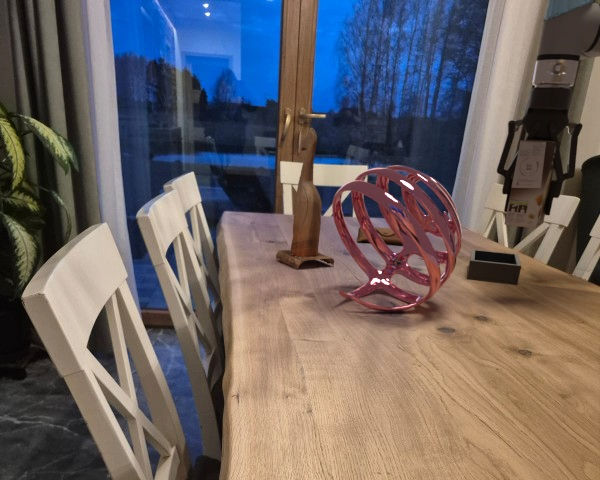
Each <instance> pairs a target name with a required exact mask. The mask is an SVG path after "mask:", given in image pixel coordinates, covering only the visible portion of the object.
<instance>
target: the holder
mask: <svg viewBox="0 0 600 480" xmlns="http://www.w3.org/2000/svg"><path fill="white" fill-rule="evenodd" d="M521 270H522V263H521V259H520V255H519V253H513V252H502V251H495V250H494V251H492V250H485V249H484V250H482V249H473V248H472V249H471V250H470V256H469V261H468V266H467V277H466V279H467V280H473V281H481V282H482V281H483V282H489V283H499V284H506V285H507V284H509V285H518V284H519V280H520V275H521Z"/></svg>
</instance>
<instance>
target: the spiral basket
mask: <svg viewBox="0 0 600 480" xmlns="http://www.w3.org/2000/svg"><path fill="white" fill-rule="evenodd" d="M400 172H405V173H408V174H406V175H404V174H402V173H400ZM371 175H375V176H377V177H376V180H375V183H371V182H368V181H366V179H367V177H368V176H371ZM389 181H392V182H394V183H395V184H396V185H398V186H399V187H401V196H402V200H403V202H404V204H405V205H403V203H402V202H400V201H399V200H398V199H397V198H396V197H395V196H393V195H392V194H391V193H389ZM420 181H421V182H422V183H424V184H425V185H426V186H428V188H429V189H431V190H432V192H433V193H434V194H435V195H436V196H437V197H438V198H439V200H440V201H441V203H442V204H443V205H444V207H445V209H446V210H447V211H443V213H442V211H441V209H440V208H439V207H438V206H437V204H436V203H435V201H433V199H432V198H431V197H430V196H429V195H428V194H427V193H426V191H424V190H423V189H422V188H421V187H420V186H419V185H418V184H417V183H418V182H420ZM344 192H351V193H350V194H351V203H352V208H353V212H354V215H355V218H356V219H357V220H356V221H357V222H358V225H359V226H360V227H361V229H362V230H363V232H364V234H365V236H366V237H367V239H368V240H369V242H368V243H370V245H371V246H372V248H373V249H374V250H375V252H376V253H377V254H378V255H379V256H380V257H381V258H382V259H383V260H384V262H385V266H384V268H382V269H377V268H376V267H375V266H374V265H373V264H372V263H371V262H370V261H369V259H368V258H367V257H366V255H364V253H363V251H362V250H361V249H360V247H359V246H358V245H357V243H356V241H355V239H354V238H353V236H352V234H351V232H350V230H349V228H348V226H347V225H348V224H347V223H346V220H345V217H344V213H343V207H342V196H343V194H344ZM364 196H367V197H368V198H370V199H372V200H373V201H375V202H376V203H377V204H378V207H379V210H380V212H381V214H382V216H383V218H384V220H385V222H386V224H387V225H388V228H391V229H392V231H393V232H394V233H395V235H396V236H397V237H398V238H399V239H400V241H401V242H402V243H403V245H402V249H401V250H400V251H399V252H394V251H393V250H392V249H391V248H390V246H388V244H386V243H385V242H384V241H383V240H382V238H381V237H380V235H379V234H378V232H377V231H376V229H375V228H374V227H375V225H374V224H373V221H372V220H371V217H370V216H369V214H368V211H367V207H366V204H365V200H364ZM418 203H419V204H420V205H421V207H422V208H423V209H424V210H425V212H426V213H427V214H425V212H424V211H423V210H422V209H421V208H420V205H419V204H418ZM331 204H332V205H331V206H332V207H331V209H332V210H331V211H332V218H333V222H334V225H335V228H336V231H337V233H338V235H339V237H340V240H341V242H342V244H343V245H344V247H345V248H346V251H347V252H348V253H349V255H350V256H351V257H352V259H353V260H354V262H355V263H356V264H357V265H358V267H359V268H360V269H361V270H362V272H363V273H365V275H366V276H367V278H368V280H367V282H366V283H364V284H363V285H362V286H360V287H358V288H356V289H354V290H352V291H348V292H345V291H344V290H343V289H340V290H338V293H339V295H340V296H341V297H343V298H345V299H351V300H352V301H354V302H355V303H357V304H359V305H360V306H363V307H365V308H367V309H369V310H374V311H378V312H385V313H397V312H404V311H407V310H411V309H414V308H416V307H418V306H420V305H422V304H424V303H425V302H428V301H429V300H430V299H431V298H433V297H434V296H435V295H436V294H437V292H439V291H440V290H441V288H442V287H443V286H444V285H445V284H446V282H447V281H449V279H450V278H451V276H452V275H453V273H454V270H455V268H456V265H457V257H458V255H459V253H460V252H461V248H462V243H463V232H462V231H463V230H462V225H461V221H460V218H459V213H458V209H457V206H456V203H455V202H454V200H453V198H452V196H451V194H450V193H449V192H448V191H447V189H446V188H445V187H444V186H443V185H442V184H441V183H440V182H439V181H438V180H437V179H435V178H434V177H431V176H430V175H427V174H426V173H424V172H421V171H420V170H418V169H416V168H413V167H410V166H406V165H400V164H399V165H397V164H396V165H389V166H386V167H372V168H369V169H366V170H364V171H362V172H360V173H359V174H358V175H357V176H356V177H355V179H354V180H351V181H348V182H346V183H344V184H343V185H342V186H341V187H340V188H338V190H337V191H336V192H335V194H334V196H333V199H332V203H331ZM447 212H448V213H447ZM360 227H359V228H360ZM427 233H429V234H431V235H433V236H434V237H439V238H442V241H443V243H444V246H445V249H446V251H445V250H444V251H442V250H437V249H435V247H434V245H433V243H432V242H431V240H430V238H429V237H428V235H427ZM413 255H416V256H418V257H420V258H422V259H423V261H424V264H425V267H426V270H427V274H426V273H424V272H421V271H420V270H417V269H415V268H414V267H412V266H411V265H409V263H408V260H409V258H410V257H411V256H413ZM441 264H442V265H445V267H444V269H443V271H442V272H441V266H440V265H441ZM395 275H401V276H402V277H404V278H406V279H407V280H409V281H411V282H412V283H415V284H418V285H420V286H424V287H428V292H427V293H426V294H423V295H419V294H415V293H411V292H409V291H406V290H405V289H403V288H401V287H399V286H397V285H396V284H394V283H393V282H392V280H391V279H392V278H393V277H394V276H395ZM376 290H381V291H384V292H386V293H387V294H388V295H391V296H392V297H393V298H396V299H397V300H400V301H403V302H404V303H409V304H403V305H400V306H383V305H379V304H373V303H370V302H368V301H366V300H363V299H362V298H363V297H364V296H366V295H369V294H371V293H372V292H374V291H376Z"/></svg>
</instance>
